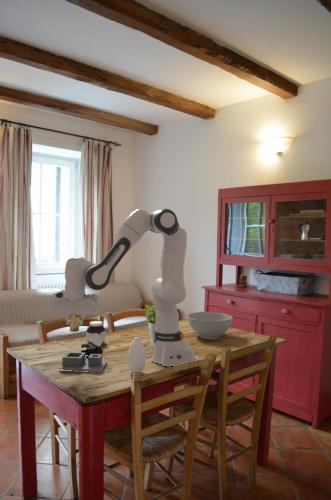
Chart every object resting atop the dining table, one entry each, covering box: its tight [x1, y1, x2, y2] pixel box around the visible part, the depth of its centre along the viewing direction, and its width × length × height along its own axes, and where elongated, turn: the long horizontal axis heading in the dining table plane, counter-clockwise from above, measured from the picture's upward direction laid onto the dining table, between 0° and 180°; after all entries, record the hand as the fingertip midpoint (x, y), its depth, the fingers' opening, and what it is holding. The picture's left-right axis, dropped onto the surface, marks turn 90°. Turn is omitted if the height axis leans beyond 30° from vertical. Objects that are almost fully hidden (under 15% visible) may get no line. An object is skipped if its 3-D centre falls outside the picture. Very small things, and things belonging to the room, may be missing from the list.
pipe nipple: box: [69, 314, 80, 333], centre depth 172 cm, size 4×4×8 cm
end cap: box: [80, 342, 104, 359], centre depth 186 cm, size 10×7×7 cm
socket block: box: [59, 351, 108, 373], centre depth 173 cm, size 18×12×6 cm, turn 87°
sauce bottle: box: [127, 331, 147, 372], centre depth 167 cm, size 8×8×18 cm
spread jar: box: [85, 320, 107, 347], centre depth 208 cm, size 12×11×12 cm
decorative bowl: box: [186, 311, 234, 340], centre depth 230 cm, size 27×27×12 cm
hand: (74, 324), depth 172 cm, fingers closed on pipe nipple, 4 cm apart
